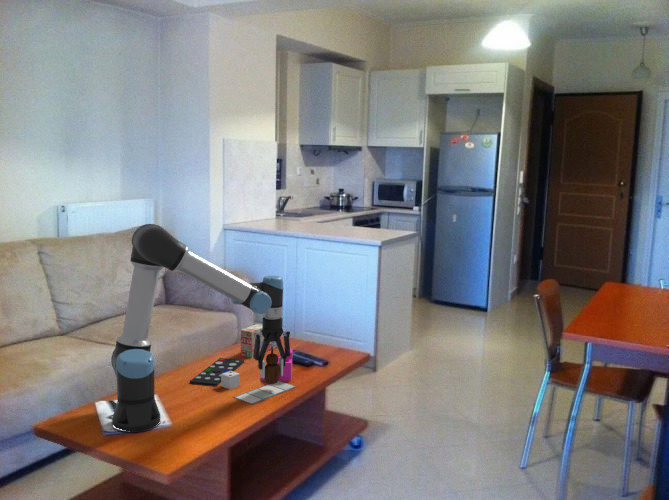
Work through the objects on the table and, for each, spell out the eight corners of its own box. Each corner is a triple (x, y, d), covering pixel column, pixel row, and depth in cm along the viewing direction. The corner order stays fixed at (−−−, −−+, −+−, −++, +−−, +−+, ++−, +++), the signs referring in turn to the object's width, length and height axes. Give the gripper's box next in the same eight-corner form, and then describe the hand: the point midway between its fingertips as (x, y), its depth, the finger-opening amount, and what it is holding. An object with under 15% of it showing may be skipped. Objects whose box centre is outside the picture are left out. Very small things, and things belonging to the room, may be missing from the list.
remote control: (244, 363, 271) (244, 359, 271) (216, 387, 241) (216, 382, 241) (219, 361, 273) (219, 356, 273) (189, 384, 244) (189, 379, 244)
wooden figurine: (276, 386, 235) (277, 347, 233) (261, 385, 236) (262, 346, 234) (281, 380, 241) (282, 342, 239) (267, 379, 243) (267, 341, 240)
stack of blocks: (268, 344, 298) (268, 319, 296) (279, 346, 295) (279, 321, 293) (240, 356, 280) (240, 329, 278) (251, 358, 277) (251, 331, 275)
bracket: (292, 373, 259) (292, 349, 258) (290, 381, 249) (291, 356, 248) (263, 372, 259) (263, 348, 258) (260, 380, 249) (261, 355, 248)
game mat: (252, 404, 224) (252, 404, 224) (233, 397, 230) (233, 397, 230) (296, 387, 243) (296, 386, 243) (278, 380, 249) (278, 380, 249)
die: (230, 389, 239) (230, 376, 238) (221, 386, 242) (221, 373, 241) (239, 386, 243) (239, 373, 242) (230, 383, 246) (230, 370, 245)
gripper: (250, 321, 227) (250, 382, 231) (300, 317, 236) (299, 375, 239) (244, 316, 234) (243, 376, 237) (292, 312, 243) (291, 369, 246)
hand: (271, 375), depth 238 cm, fingers closed on wooden figurine, 7 cm apart
